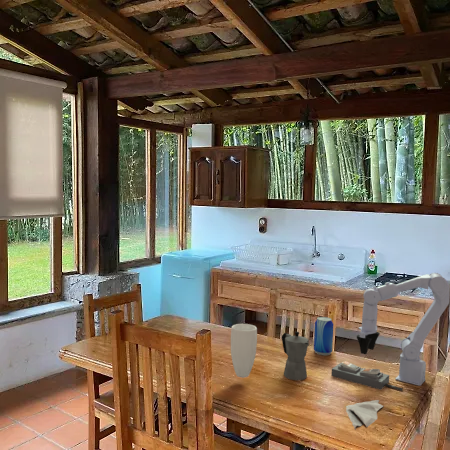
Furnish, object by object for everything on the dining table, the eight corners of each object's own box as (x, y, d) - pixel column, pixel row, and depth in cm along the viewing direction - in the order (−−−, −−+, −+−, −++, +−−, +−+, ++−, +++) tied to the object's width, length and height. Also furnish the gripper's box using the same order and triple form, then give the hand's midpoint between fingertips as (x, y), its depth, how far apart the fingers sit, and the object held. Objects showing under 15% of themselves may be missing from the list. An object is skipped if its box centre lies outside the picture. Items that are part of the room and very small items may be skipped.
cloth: (365, 397, 169) (365, 390, 169) (401, 410, 160) (402, 403, 159) (324, 419, 151) (325, 412, 151) (363, 436, 141) (363, 429, 141)
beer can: (327, 357, 208) (328, 322, 207) (310, 353, 213) (311, 318, 212) (335, 352, 215) (336, 318, 214) (318, 348, 220) (320, 315, 219)
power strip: (405, 387, 178) (406, 377, 177) (398, 394, 171) (399, 384, 170) (340, 369, 194) (341, 360, 193) (331, 375, 187) (331, 366, 186)
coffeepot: (315, 379, 183) (317, 334, 181) (297, 384, 177) (299, 337, 176) (289, 366, 195) (291, 324, 194) (272, 370, 190) (273, 327, 189)
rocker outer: (357, 368, 186) (358, 366, 186) (354, 371, 184) (354, 368, 183) (344, 362, 190) (345, 360, 189) (341, 365, 187) (341, 362, 187)
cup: (260, 381, 178) (262, 326, 177) (246, 390, 170) (248, 332, 169) (238, 375, 184) (239, 321, 183) (223, 383, 176) (225, 327, 174)
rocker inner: (380, 371, 181) (379, 368, 181) (376, 374, 178) (376, 371, 178) (366, 371, 184) (365, 368, 184) (362, 373, 181) (362, 370, 181)
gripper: (366, 313, 196) (364, 344, 197) (353, 319, 185) (350, 353, 186) (383, 316, 192) (380, 348, 193) (370, 323, 181) (368, 357, 182)
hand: (367, 351), depth 189 cm, fingers open, 7 cm apart
